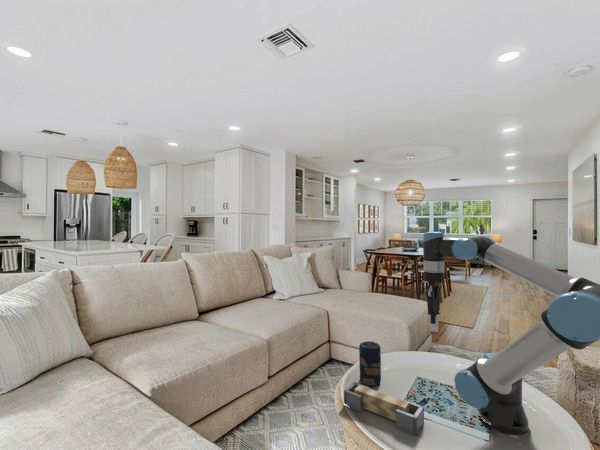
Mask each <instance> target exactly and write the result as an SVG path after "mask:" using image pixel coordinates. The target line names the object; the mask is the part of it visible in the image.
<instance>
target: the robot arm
mask: <svg viewBox="0 0 600 450" xmlns="http://www.w3.org/2000/svg"><path fill="white" fill-rule="evenodd" d="M422 249H423V253H422V254H423V259H422V260H423V261H422V262H421V264H422V265H423V273H422V274H423V281H425V282H427V283H428V285H427V287H426V291H425V295H426V305H427V315H429V331H430V332H434V333H438V332H439V315H441V312H440V309H441V307H440V306H441V291H442V286H440V283H443V282H445V272H444V271H445V258H448V259H455V260H456V259H458V260H462V261H463V260H467V261H468V260H469V261H470V260H473V259H474V258H478V259H480V260H482V261H483V262H486V263H488V264H490V265H491V266H494V267H496V268H498V269H500V270H502V271H504V272H506V273H507V274H509V275H512V276H513V277H516V278H517V279H520V280H522V281H524V282H526V283H528V284H530V285H532V286H534V287H536V288H537V289H540V290H542V291H544V292H546V293H548V294H550V295H552V296H554V297H555V298H554V299H553V300H552V301H551V302H550V303H549V305H548V307H547V308H546V309H545V310H543V311H542V312H541V313H540V321H539V322H538V323H537V324H535V325H534V326H533V327H531V328H530V329H528V330H527V331H526V332H524V333H523V334H521V335H520V336H519V337H517V338H516V339H515V340H514V341H512V342H511V343H509V344H508V345H506V346H505V347H504V348H501V350H500V351H498V352H496V353H495V352H486V353H484V354H483V357H480V358H479V359H478V360H477V361H475V362H474V363H472V364H471V365H470V366H468V367H467V368H465V369H461V370H459V371H458V372H456V374H455V376H454V387H455V390H456V392H457V394H458V396H459V397H460V398H461V399H462V401H463V402H464V403H465V404H467V405H468V406H470V407H472V408H474V409H477V412H479V414H480V415H481V417H483V418H484V419H485V420H487V421H488V422H490V423H491V427H490V428H491V429H494V430H496V431H498V432H500V433H501V432H502V433H505V434H509V435H523V434H526V433H527V432H528V431H529V419H528V416H527V414H526V411H525V408H524V405H523V378H524V377H526V376H527V375H529V374H530V373H532V372H534V371H536V370H537V369H539V368H540V367H542V366H543V365H545V364H547V363H548V362H550V361H552V360H553V359H556V357H558V356H560V355H562V354H563V353H565V352H566V351H568V350H569V349H573V350H579V351H581V350H582V351H583V350H584V349H586V348H587V347H589V346H590V345H592V344H594V343H595V342H597V341H599V340H600V284H599V283H598V282H597V283H596V282H594V281H592V280H589V279H587V278H585V277H574V276H572V275H569V274H567V273H565V272H562V271H559V270H557V269H555V268H553V267H550V266H548V265H546V264H544V263H542V262H539V261H536V260H534V259H532V258H530V257H527V256H525V255H523V254H520V253H518V252H516V251H513V250H511V249H509V248H507V247H504V246H502V245H499V244H498V243H495V241H494V240H493V239H492V238H491V237H487V236H472V237H471V236H470V237H445V233H444V232H441V231H427V232H424V233H423V239H422Z"/></svg>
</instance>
